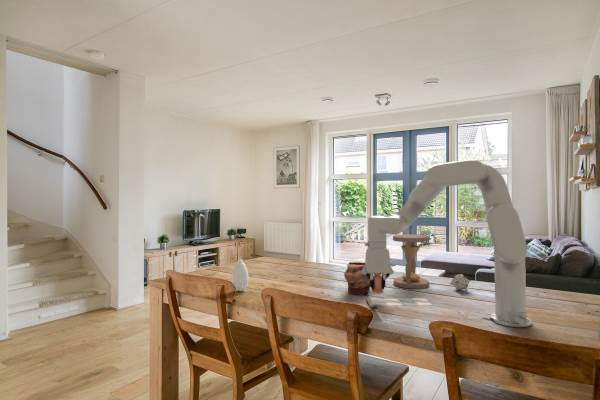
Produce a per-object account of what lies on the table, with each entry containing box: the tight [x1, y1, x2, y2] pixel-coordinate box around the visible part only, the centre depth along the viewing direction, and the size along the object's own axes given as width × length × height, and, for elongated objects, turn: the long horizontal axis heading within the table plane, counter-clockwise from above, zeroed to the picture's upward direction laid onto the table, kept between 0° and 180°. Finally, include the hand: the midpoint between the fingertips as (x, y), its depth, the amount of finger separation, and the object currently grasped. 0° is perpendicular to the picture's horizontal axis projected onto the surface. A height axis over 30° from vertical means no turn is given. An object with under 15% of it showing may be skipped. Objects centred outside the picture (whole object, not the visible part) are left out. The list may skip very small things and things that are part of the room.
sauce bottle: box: [231, 257, 249, 291], centre depth 176 cm, size 8×8×18 cm
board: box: [366, 297, 433, 310], centre depth 150 cm, size 12×26×1 cm, turn 88°
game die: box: [449, 272, 472, 293], centre depth 170 cm, size 9×8×10 cm
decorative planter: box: [343, 261, 371, 296], centre depth 171 cm, size 20×12×14 cm, turn 148°
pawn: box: [371, 273, 384, 295], centre depth 150 cm, size 5×5×10 cm
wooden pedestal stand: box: [392, 233, 430, 290], centre depth 183 cm, size 18×18×25 cm
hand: (377, 288), depth 150 cm, fingers closed on pawn, 3 cm apart
